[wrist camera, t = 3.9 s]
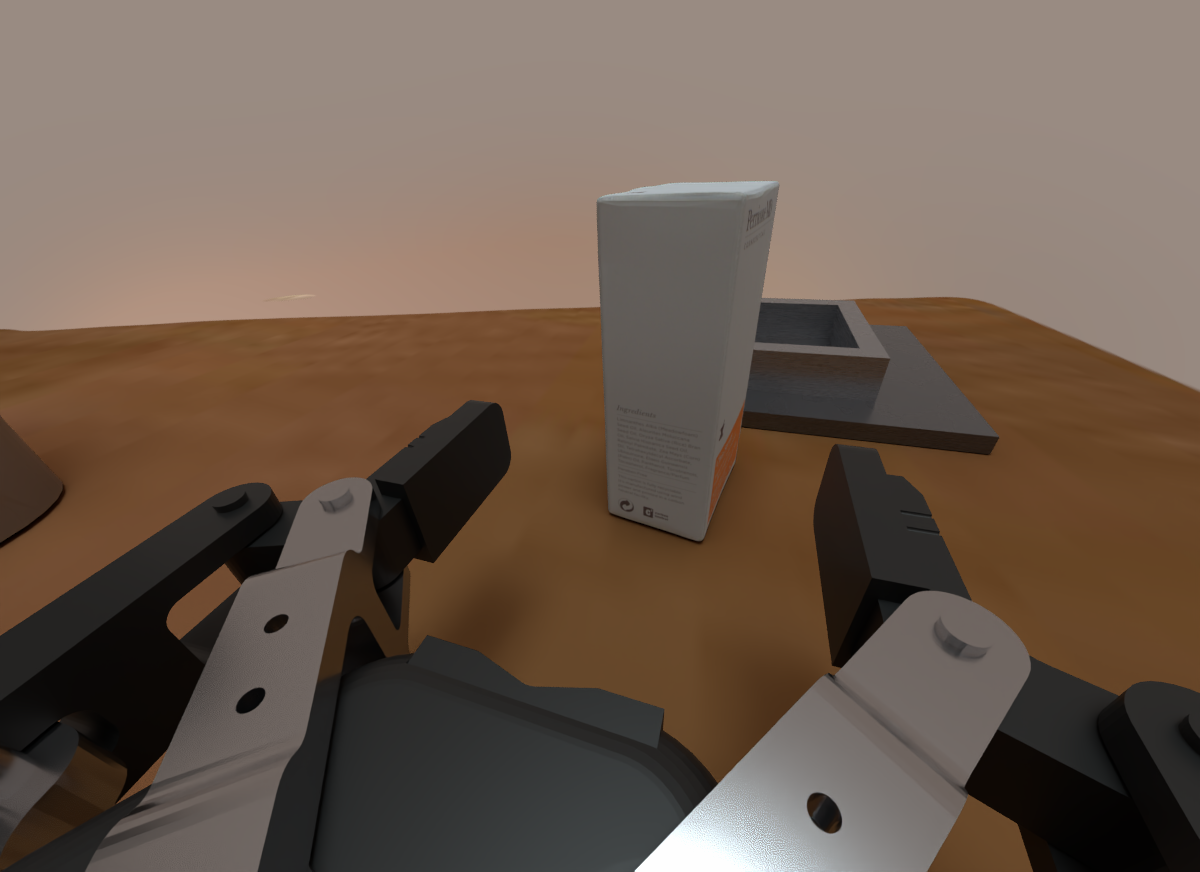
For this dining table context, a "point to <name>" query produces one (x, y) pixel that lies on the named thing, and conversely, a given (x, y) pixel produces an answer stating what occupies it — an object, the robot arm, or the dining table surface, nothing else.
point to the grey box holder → (854, 381)
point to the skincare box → (678, 341)
